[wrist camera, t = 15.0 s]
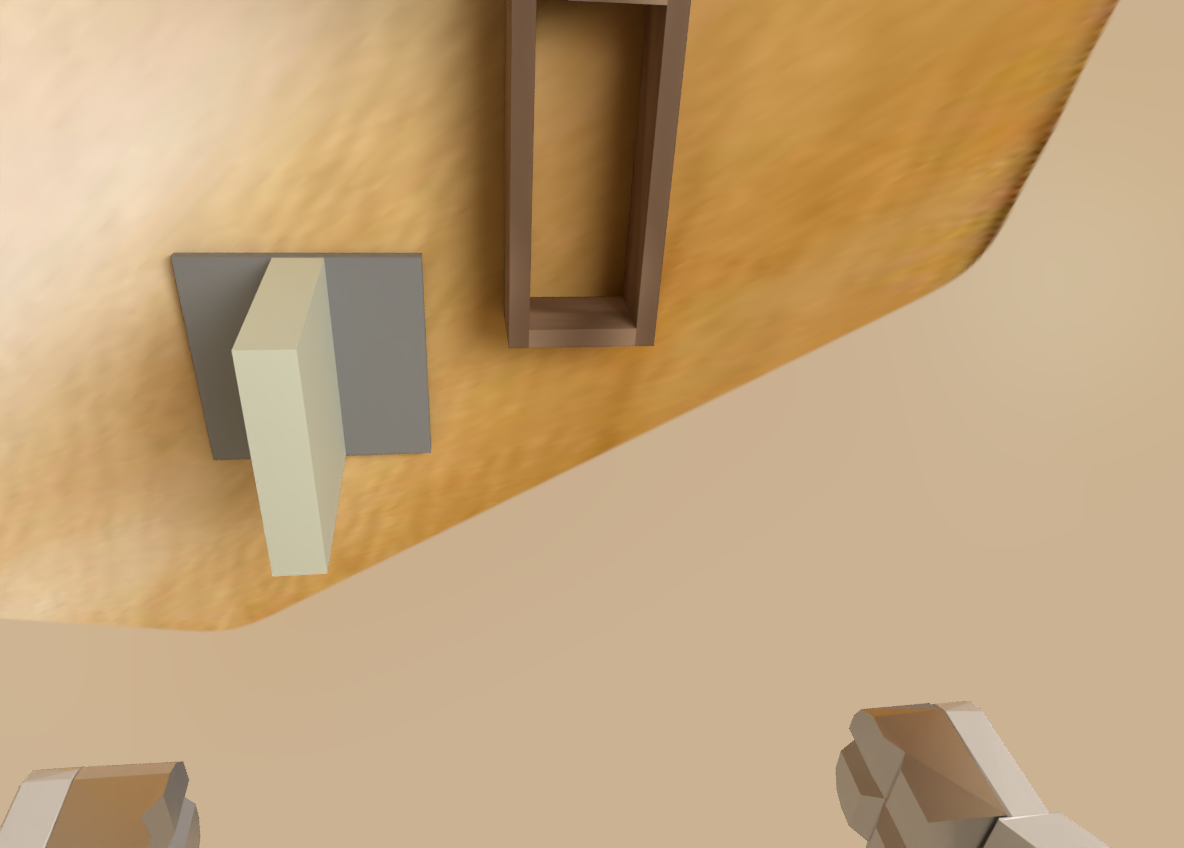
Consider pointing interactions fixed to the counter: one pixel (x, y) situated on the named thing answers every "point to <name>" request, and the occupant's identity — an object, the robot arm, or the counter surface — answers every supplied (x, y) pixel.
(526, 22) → the walnut box
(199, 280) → the rubber mat
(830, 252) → the counter surface
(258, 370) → the cream rectangular block
